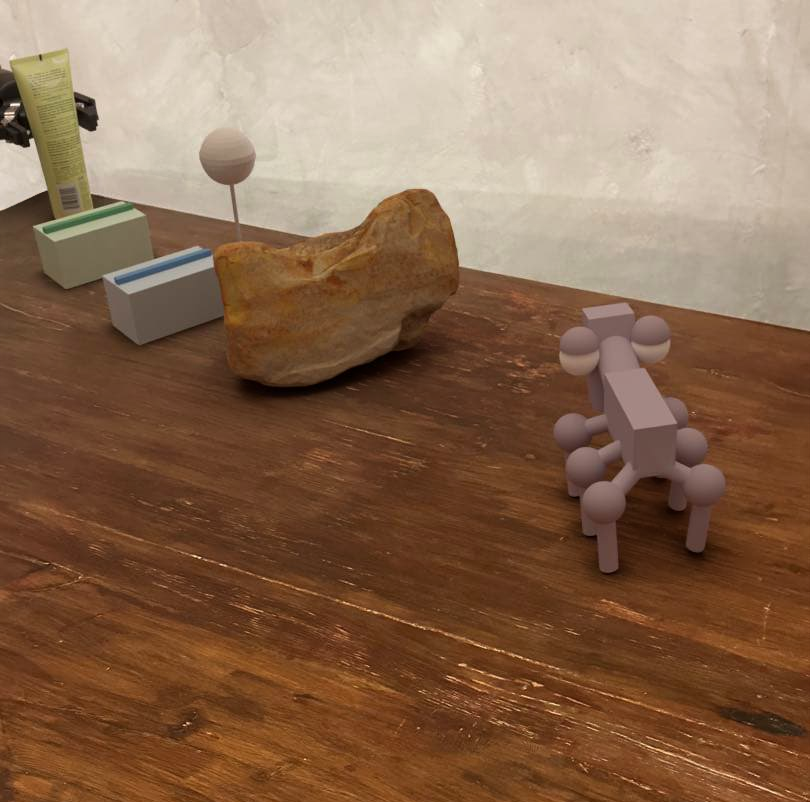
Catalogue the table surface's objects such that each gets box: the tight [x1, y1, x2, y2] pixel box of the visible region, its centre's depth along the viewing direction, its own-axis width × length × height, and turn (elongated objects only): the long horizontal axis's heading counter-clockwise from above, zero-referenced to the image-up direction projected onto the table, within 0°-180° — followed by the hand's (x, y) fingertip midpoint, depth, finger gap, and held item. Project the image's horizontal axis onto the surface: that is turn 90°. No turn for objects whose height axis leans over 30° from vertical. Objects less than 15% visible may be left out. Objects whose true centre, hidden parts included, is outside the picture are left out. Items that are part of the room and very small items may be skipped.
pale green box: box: [32, 200, 155, 290], centre depth 127 cm, size 11×6×6 cm, turn 127°
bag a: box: [101, 245, 224, 346], centre depth 115 cm, size 11×6×6 cm, turn 127°
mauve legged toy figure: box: [552, 301, 727, 574], centre depth 85 cm, size 20×11×14 cm, turn 6°
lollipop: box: [198, 127, 257, 242], centre depth 124 cm, size 6×6×15 cm
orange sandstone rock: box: [212, 188, 461, 388], centre depth 107 cm, size 23×17×15 cm
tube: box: [8, 47, 94, 220], centre depth 136 cm, size 6×5×20 cm
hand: (60, 130), depth 135 cm, fingers open, 8 cm apart
